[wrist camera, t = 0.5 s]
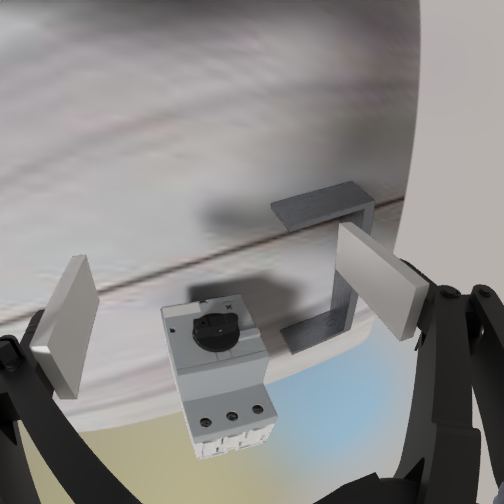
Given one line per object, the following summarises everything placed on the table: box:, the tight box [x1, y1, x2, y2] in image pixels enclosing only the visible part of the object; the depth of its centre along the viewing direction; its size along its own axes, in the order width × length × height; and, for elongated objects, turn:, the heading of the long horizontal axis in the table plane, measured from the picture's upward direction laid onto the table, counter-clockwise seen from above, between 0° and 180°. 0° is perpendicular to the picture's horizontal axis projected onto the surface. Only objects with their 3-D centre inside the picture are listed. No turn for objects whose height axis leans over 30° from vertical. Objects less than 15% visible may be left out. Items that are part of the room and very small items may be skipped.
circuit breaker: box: [161, 294, 278, 460], centre depth 29 cm, size 8×14×15 cm, turn 173°
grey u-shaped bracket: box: [271, 181, 375, 355], centre depth 36 cm, size 22×9×4 cm, turn 6°
